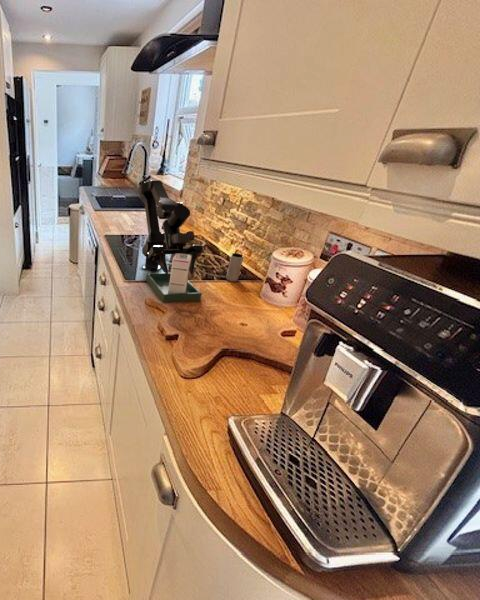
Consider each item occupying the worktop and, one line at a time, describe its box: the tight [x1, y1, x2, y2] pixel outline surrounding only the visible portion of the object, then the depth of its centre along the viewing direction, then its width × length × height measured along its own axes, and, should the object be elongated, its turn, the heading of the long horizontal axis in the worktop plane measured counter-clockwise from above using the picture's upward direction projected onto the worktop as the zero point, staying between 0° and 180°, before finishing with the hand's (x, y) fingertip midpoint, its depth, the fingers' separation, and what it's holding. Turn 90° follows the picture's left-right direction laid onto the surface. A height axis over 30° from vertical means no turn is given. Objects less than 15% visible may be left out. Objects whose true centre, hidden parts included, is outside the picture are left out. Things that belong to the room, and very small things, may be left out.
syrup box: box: [168, 253, 191, 294], centre depth 114 cm, size 6×6×14 cm
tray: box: [145, 272, 202, 303], centre depth 121 cm, size 20×14×3 cm
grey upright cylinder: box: [225, 253, 245, 282], centre depth 130 cm, size 4×4×10 cm
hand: (179, 273), depth 114 cm, fingers open, 9 cm apart
